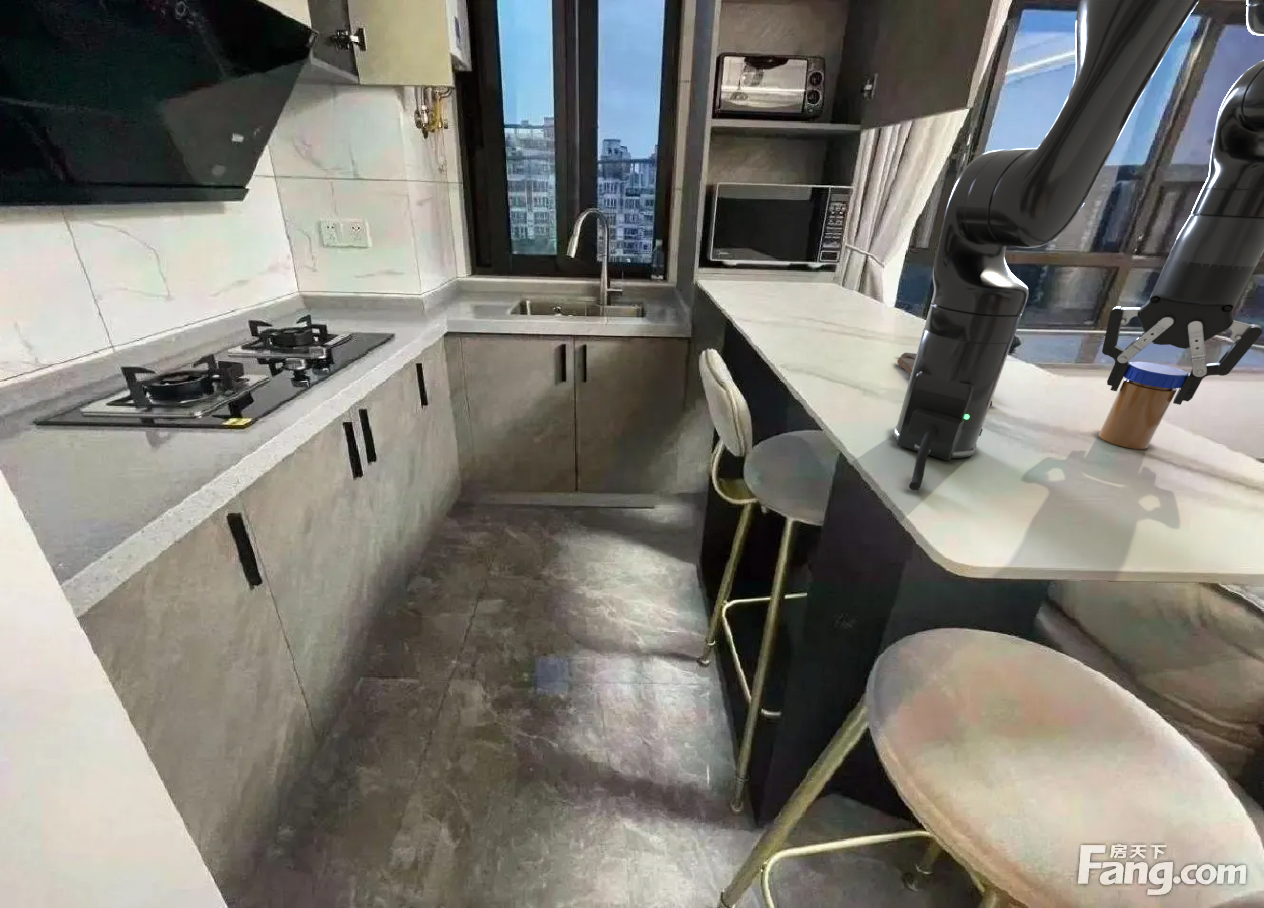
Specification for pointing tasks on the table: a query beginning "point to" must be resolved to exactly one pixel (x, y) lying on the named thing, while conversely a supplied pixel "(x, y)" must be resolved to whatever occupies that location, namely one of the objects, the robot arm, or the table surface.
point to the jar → (1136, 414)
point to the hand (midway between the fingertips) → (1145, 395)
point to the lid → (1155, 375)
